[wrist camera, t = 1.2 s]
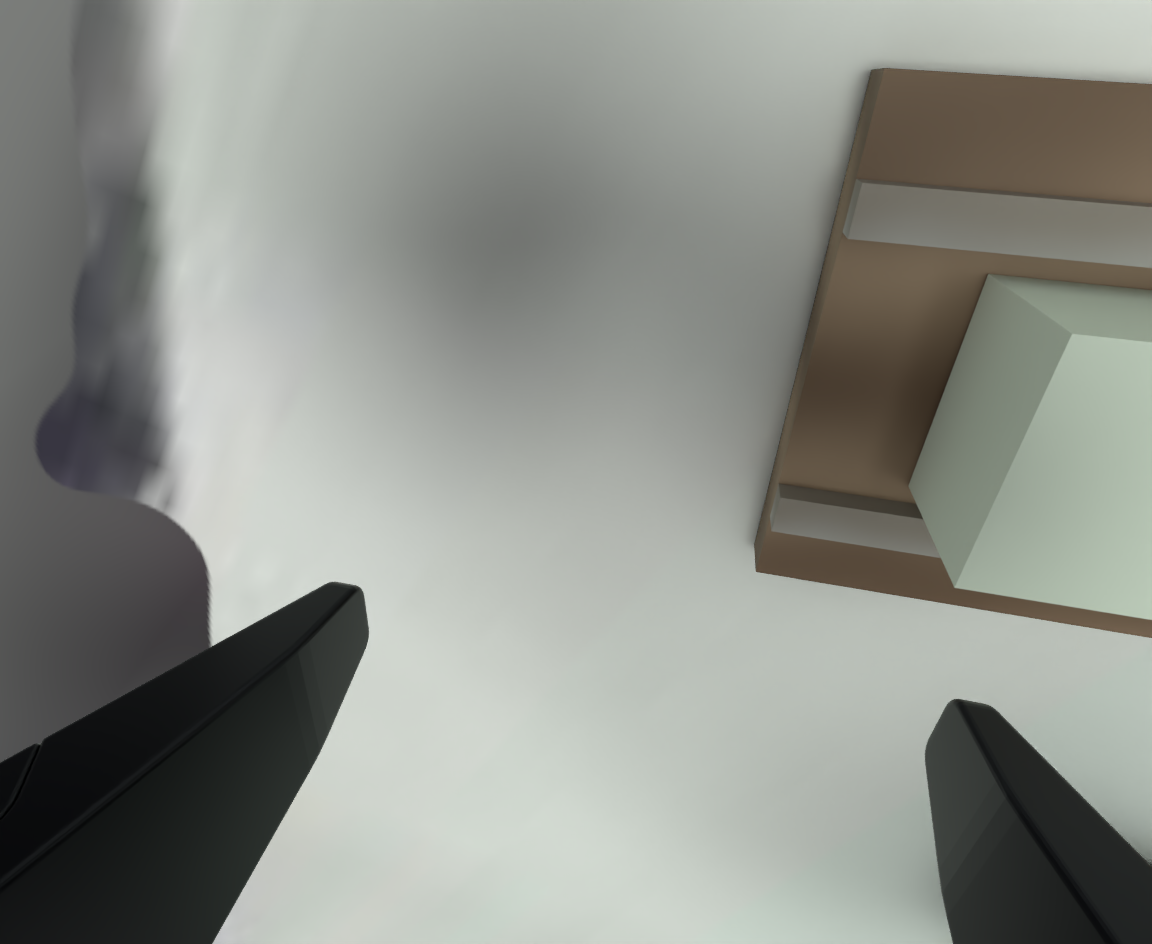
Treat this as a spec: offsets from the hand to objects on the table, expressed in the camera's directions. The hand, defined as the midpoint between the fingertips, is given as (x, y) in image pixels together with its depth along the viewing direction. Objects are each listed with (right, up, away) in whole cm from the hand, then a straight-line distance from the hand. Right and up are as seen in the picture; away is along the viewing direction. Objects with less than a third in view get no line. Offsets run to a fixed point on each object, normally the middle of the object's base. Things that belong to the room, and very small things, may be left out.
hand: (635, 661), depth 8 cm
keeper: (+12, +4, +8) cm, 15 cm away
